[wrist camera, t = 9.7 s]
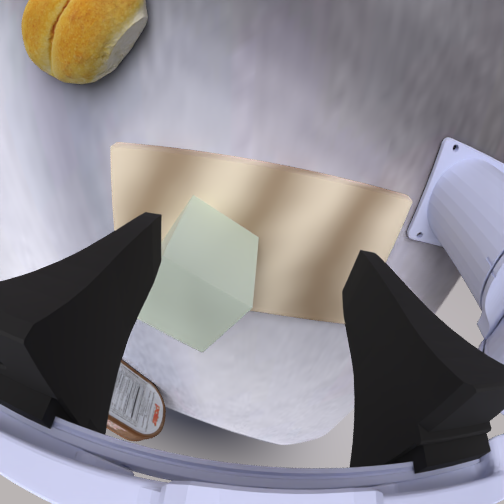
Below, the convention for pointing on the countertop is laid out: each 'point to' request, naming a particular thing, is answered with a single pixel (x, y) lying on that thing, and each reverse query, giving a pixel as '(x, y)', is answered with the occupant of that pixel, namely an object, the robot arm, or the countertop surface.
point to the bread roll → (81, 36)
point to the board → (267, 218)
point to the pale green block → (202, 277)
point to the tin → (135, 406)
